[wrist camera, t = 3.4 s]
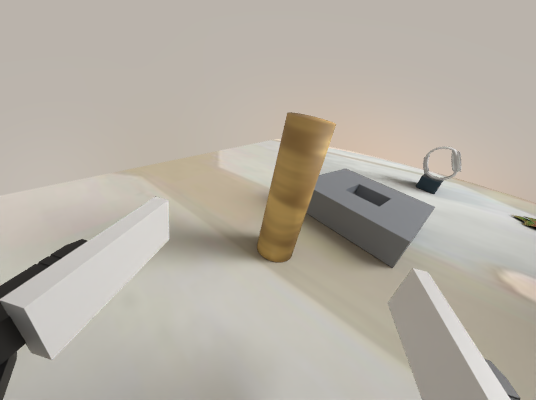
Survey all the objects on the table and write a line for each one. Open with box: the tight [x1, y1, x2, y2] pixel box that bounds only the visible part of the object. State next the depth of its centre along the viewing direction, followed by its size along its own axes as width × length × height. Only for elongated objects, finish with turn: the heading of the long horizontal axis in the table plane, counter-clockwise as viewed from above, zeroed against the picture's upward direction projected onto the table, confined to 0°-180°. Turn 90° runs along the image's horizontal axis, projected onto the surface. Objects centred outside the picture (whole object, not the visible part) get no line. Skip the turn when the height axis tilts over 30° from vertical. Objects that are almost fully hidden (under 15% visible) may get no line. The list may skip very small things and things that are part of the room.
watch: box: [416, 147, 461, 194], centre depth 54 cm, size 6×8×11 cm
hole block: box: [306, 169, 435, 268], centre depth 34 cm, size 16×16×4 cm
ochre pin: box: [257, 113, 336, 262], centre depth 21 cm, size 4×4×14 cm
